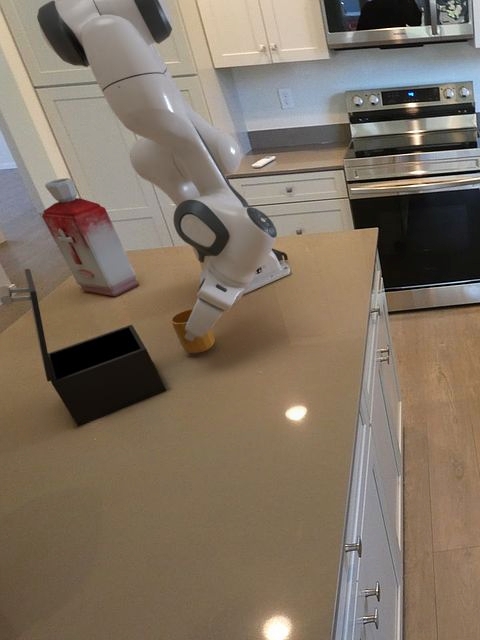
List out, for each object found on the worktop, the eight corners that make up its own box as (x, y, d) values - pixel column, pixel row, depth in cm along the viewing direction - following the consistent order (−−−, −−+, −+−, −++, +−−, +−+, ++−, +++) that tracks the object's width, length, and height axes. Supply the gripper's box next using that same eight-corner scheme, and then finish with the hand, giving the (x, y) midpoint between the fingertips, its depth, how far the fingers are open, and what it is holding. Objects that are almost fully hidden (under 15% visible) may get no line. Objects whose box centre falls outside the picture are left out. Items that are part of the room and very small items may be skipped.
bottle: (144, 283, 160) (95, 176, 144) (111, 299, 152) (55, 188, 136) (111, 278, 166) (60, 174, 150) (78, 293, 158) (20, 186, 142)
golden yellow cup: (210, 335, 128) (198, 305, 124) (219, 345, 123) (207, 315, 119) (181, 346, 125) (167, 316, 120) (189, 357, 120) (175, 327, 116)
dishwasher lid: (29, 268, 102) (-5, 270, 99) (36, 290, 93) (-2, 293, 90) (45, 352, 109) (13, 355, 106) (53, 380, 99) (18, 385, 96)
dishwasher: (151, 364, 122) (132, 324, 116) (166, 390, 112) (146, 348, 107) (69, 395, 114) (44, 354, 109) (78, 426, 105) (51, 383, 99)
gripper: (220, 252, 124) (191, 299, 129) (197, 293, 107) (165, 345, 112) (247, 268, 127) (218, 313, 132) (229, 310, 110) (196, 360, 115)
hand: (193, 328), depth 122 cm, fingers closed on golden yellow cup, 6 cm apart
